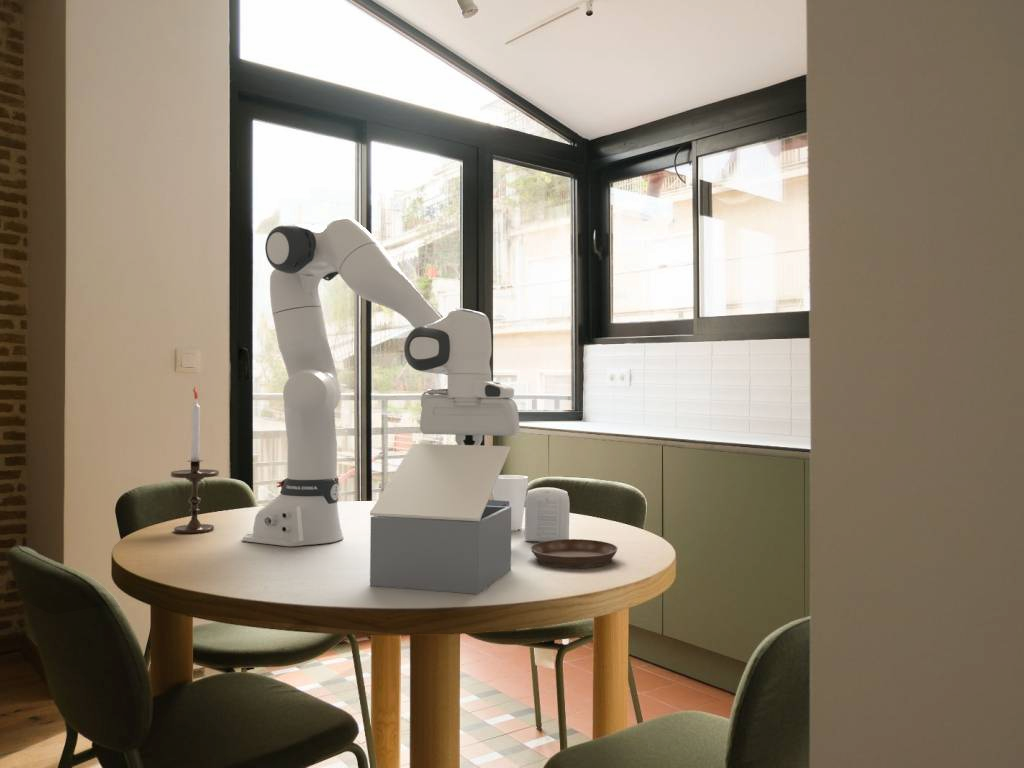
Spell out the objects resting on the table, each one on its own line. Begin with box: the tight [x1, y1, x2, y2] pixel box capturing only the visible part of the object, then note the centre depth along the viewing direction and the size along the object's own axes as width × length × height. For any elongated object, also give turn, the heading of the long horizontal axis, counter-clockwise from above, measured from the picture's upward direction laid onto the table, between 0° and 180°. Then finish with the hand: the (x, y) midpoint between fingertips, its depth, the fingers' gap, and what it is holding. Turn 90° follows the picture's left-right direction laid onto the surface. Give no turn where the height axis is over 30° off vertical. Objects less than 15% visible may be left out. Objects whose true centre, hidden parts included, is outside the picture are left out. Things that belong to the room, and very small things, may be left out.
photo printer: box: [524, 486, 571, 543], centre depth 182 cm, size 10×4×12 cm, turn 86°
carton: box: [369, 506, 512, 595], centre depth 145 cm, size 20×20×12 cm
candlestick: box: [170, 387, 220, 535], centre depth 193 cm, size 11×11×35 cm
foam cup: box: [491, 474, 529, 531], centre depth 199 cm, size 10×9×13 cm
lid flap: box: [369, 443, 511, 521], centre depth 145 cm, size 20×22×1 cm
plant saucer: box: [530, 538, 619, 569], centre depth 161 cm, size 18×18×3 cm
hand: (468, 457), depth 159 cm, fingers closed
